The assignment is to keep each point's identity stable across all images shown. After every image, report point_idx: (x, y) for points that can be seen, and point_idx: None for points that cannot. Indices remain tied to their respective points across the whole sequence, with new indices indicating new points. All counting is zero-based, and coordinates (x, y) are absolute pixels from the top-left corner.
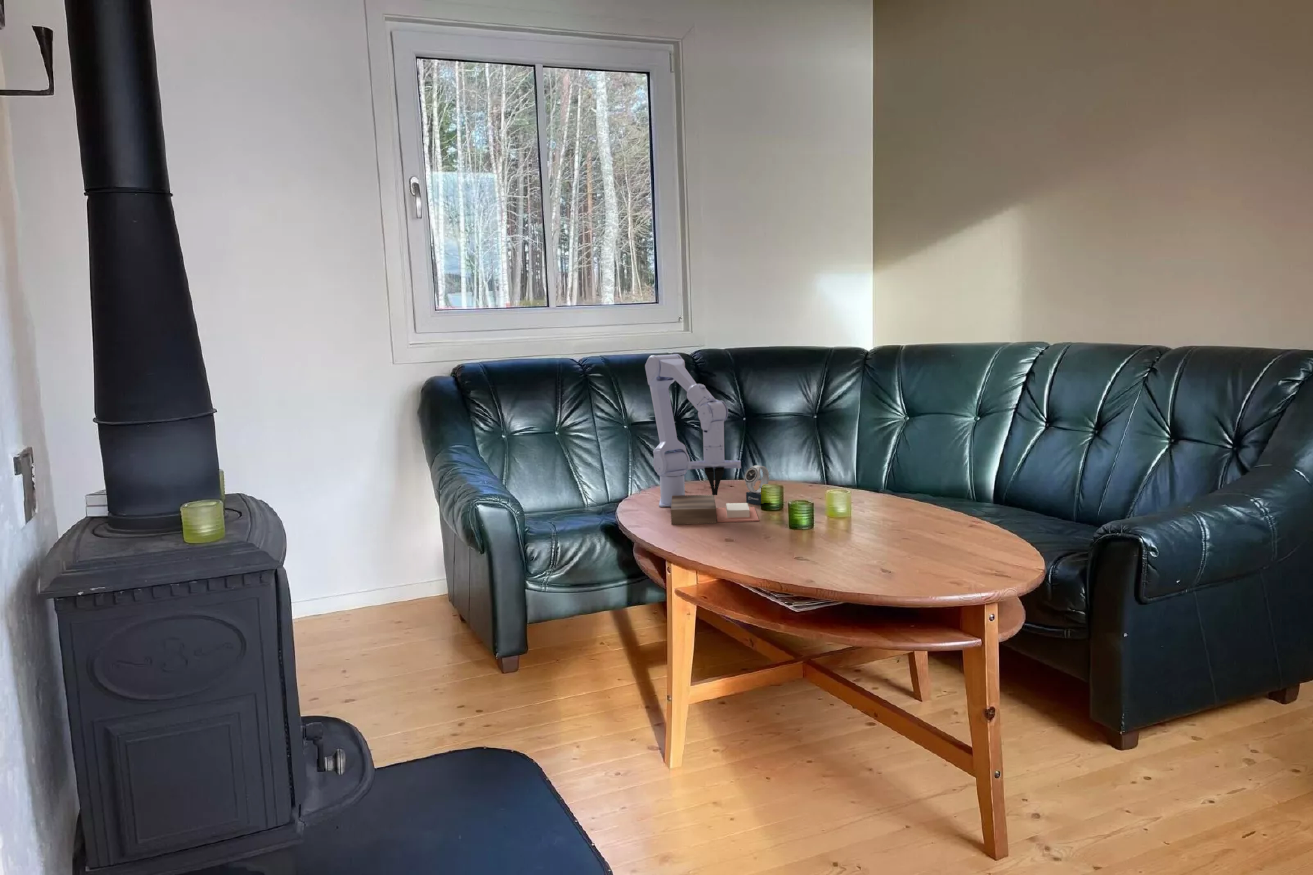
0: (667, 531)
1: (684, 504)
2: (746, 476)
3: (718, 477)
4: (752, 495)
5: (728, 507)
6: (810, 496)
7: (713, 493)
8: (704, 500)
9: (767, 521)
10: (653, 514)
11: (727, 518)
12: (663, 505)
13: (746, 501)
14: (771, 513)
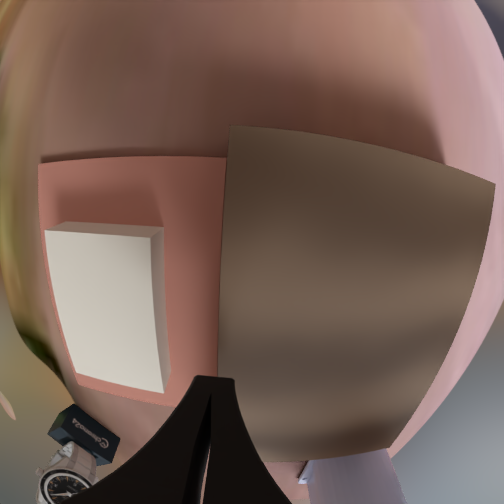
0: (456, 66)
1: (419, 301)
2: None
3: (140, 489)
4: (90, 443)
5: (144, 312)
6: (12, 417)
7: (224, 384)
8: (281, 387)
9: (20, 163)
10: (450, 349)
11: (164, 206)
12: None
13: (118, 441)
14: (18, 295)
